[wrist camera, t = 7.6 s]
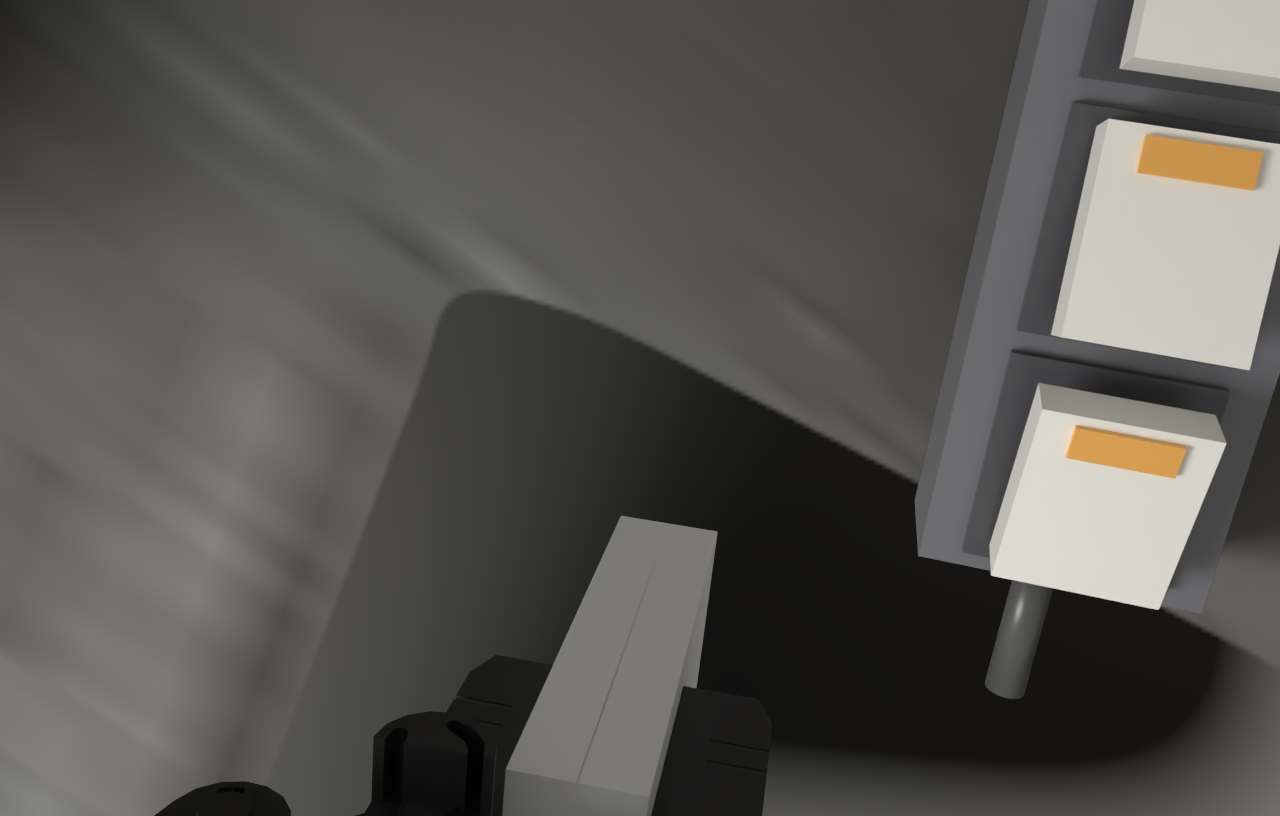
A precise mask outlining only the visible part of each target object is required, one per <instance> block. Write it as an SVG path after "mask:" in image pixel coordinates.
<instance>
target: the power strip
mask: <svg viewBox="0 0 1280 816" xmlns="http://www.w3.org/2000/svg"><path fill="white" fill-rule="evenodd" d="M1133 4H1134V0H1030V1H1029V5H1028V9H1027V14H1026V18H1025V22H1024V27H1023V31H1022V36H1021V40H1020V44H1019V49H1018V53H1017V57H1016V62H1015V66H1014V70H1013V75H1012V79H1011V84H1010V88H1009V92H1008V97H1007V101H1006V105H1005V110H1004V114H1003V118H1002V123H1001V127H1000V131H999V136H998V140H997V145H996V149H995V153H994V158H993V162H992V166H991V171H990V175H989V179H988V184H987V188H986V192H985V197H984V201H983V206H982V210H981V214H980V219H979V223H978V227H977V232H976V236H975V240H974V245H973V249H972V253H971V258H970V262H969V267H968V271H967V275H966V280H965V284H964V288H963V293H962V297H961V301H960V306H959V310H958V314H957V319H956V323H955V328H954V332H953V336H952V341H951V345H950V349H949V354H948V358H947V362H946V367H945V371H944V376H943V380H942V384H941V389H940V393H939V397H938V402H937V406H936V410H935V415H934V419H933V423H932V428H931V432H930V437H929V441H928V445H927V450H926V454H925V458H924V463H923V467H922V471H921V476H920V480H919V484H918V489H917V493H916V498H915V509H916V526H917V543H918V556H921V557H927V558H931V559H936V560H941V561H946V562H951V563H956V564H961V565H965V566H970V567H975V568H981V569H985V570H990V571H991V567H990V548H989V545H990V541H991V538H992V535H993V532H994V528H995V525H996V522H997V518H998V515H999V512H1000V508H1001V505H1002V502H1003V499H1004V495H1005V492H1006V489H1007V485H1008V482H1009V479H1010V475H1011V472H1012V469H1013V466H1014V462H1015V459H1016V456H1017V452H1018V449H1019V446H1020V442H1021V439H1022V436H1023V433H1024V429H1025V426H1026V423H1027V419H1028V416H1029V413H1030V409H1031V406H1032V403H1033V400H1034V396H1035V393H1036V390H1037V386H1038V383H1043V384H1048V385H1054V386H1059V387H1065V388H1070V389H1076V390H1081V391H1087V392H1092V393H1098V394H1103V395H1109V396H1114V397H1120V398H1125V399H1131V400H1136V401H1142V402H1147V403H1153V404H1158V405H1164V406H1169V407H1175V408H1180V409H1186V410H1191V411H1197V412H1202V413H1208V414H1213V415H1216V417H1217V420H1218V422H1219V425H1220V427H1221V430H1222V432H1223V435H1224V438H1225V440H1226V443H1227V444H1226V446H1225V449H1224V451H1223V454H1222V456H1221V459H1220V461H1219V463H1218V466H1217V468H1216V471H1215V473H1214V476H1213V478H1212V481H1211V483H1210V485H1209V488H1208V490H1207V493H1206V495H1205V498H1204V500H1203V503H1202V505H1201V508H1200V510H1199V512H1198V515H1197V517H1196V520H1195V522H1194V525H1193V527H1192V530H1191V532H1190V535H1189V537H1188V539H1187V542H1186V544H1185V547H1184V549H1183V552H1182V554H1181V557H1180V559H1179V561H1178V564H1177V566H1176V569H1175V571H1174V574H1173V576H1172V579H1171V581H1170V584H1169V586H1168V588H1167V591H1166V593H1165V596H1164V598H1163V601H1162V603H1161V606H1166V607H1170V608H1175V609H1180V610H1185V611H1190V612H1195V613H1200V614H1201V613H1202V610H1203V607H1204V604H1205V601H1206V598H1207V595H1208V592H1209V589H1210V586H1211V583H1212V580H1213V577H1214V573H1215V570H1216V567H1217V564H1218V561H1219V558H1220V555H1221V552H1222V549H1223V546H1224V543H1225V540H1226V537H1227V534H1228V530H1229V527H1230V524H1231V521H1232V518H1233V515H1234V512H1235V509H1236V506H1237V503H1238V500H1239V497H1240V494H1241V491H1242V487H1243V484H1244V481H1245V478H1246V475H1247V472H1248V469H1249V466H1250V463H1251V460H1252V457H1253V454H1254V451H1255V447H1256V444H1257V441H1258V438H1259V435H1260V432H1261V429H1262V426H1263V423H1264V420H1265V417H1266V414H1267V411H1268V408H1269V404H1270V401H1271V398H1272V395H1273V392H1274V389H1275V386H1276V383H1277V380H1278V377H1279V374H1280V246H1279V250H1278V254H1277V259H1276V263H1275V267H1274V271H1273V275H1272V279H1271V284H1270V288H1269V292H1268V296H1267V300H1266V304H1265V308H1264V313H1263V317H1262V321H1261V325H1260V329H1259V333H1258V338H1257V342H1256V346H1255V350H1254V354H1253V358H1252V363H1251V367H1250V370H1244V369H1238V368H1233V367H1227V366H1221V365H1216V364H1210V363H1204V362H1199V361H1193V360H1187V359H1182V358H1176V357H1170V356H1165V355H1159V354H1153V353H1148V352H1142V351H1136V350H1130V349H1125V348H1119V347H1113V346H1108V345H1102V344H1096V343H1091V342H1085V341H1079V340H1074V339H1068V338H1062V337H1058V336H1053V335H1051V332H1052V327H1053V322H1054V318H1055V313H1056V309H1057V304H1058V300H1059V295H1060V290H1061V286H1062V281H1063V277H1064V272H1065V267H1066V263H1067V258H1068V254H1069V249H1070V245H1071V240H1072V235H1073V231H1074V226H1075V222H1076V217H1077V212H1078V208H1079V203H1080V199H1081V194H1082V190H1083V185H1084V180H1085V176H1086V171H1087V167H1088V162H1089V157H1090V153H1091V148H1092V144H1093V139H1094V134H1095V130H1096V126H1098V125H1099V124H1101V123H1103V122H1104V121H1106V120H1107V119H1115V120H1122V121H1128V122H1135V123H1142V124H1148V125H1155V126H1161V127H1168V128H1175V129H1181V130H1188V131H1195V132H1201V133H1208V134H1215V135H1221V136H1228V137H1235V138H1241V139H1248V140H1255V141H1261V142H1268V143H1274V144H1280V92H1277V91H1270V90H1263V89H1256V88H1250V87H1243V86H1236V85H1229V84H1222V83H1215V82H1208V81H1201V80H1194V79H1187V78H1180V77H1173V76H1167V75H1160V74H1153V73H1146V72H1139V71H1132V70H1125V69H1119V68H1120V64H1121V59H1122V54H1123V50H1124V45H1125V41H1126V36H1127V31H1128V27H1129V22H1130V18H1131V13H1132V9H1133ZM1052 591H1053V588H1049V587H1044V586H1039V585H1034V584H1030V583H1025V582H1020V581H1015V580H1012V583H1011V587H1010V591H1009V595H1008V598H1007V602H1006V606H1005V610H1004V613H1003V617H1002V621H1001V625H1000V628H999V632H998V636H997V640H996V644H995V648H994V651H993V655H992V659H991V663H990V666H989V670H988V674H987V678H986V681H985V685H986V686H987V688H988V689H989V690H990V691H992V692H993V693H995V694H997V695H999V696H1002V697H1005V698H1011V699H1016V698H1020V697H1022V696H1023V695H1024V691H1025V688H1026V684H1027V681H1028V677H1029V673H1030V670H1031V666H1032V663H1033V659H1034V655H1035V652H1036V648H1037V645H1038V641H1039V637H1040V634H1041V630H1042V627H1043V623H1044V620H1045V616H1046V612H1047V609H1048V605H1049V601H1050V598H1051V594H1052Z"/></svg>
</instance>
